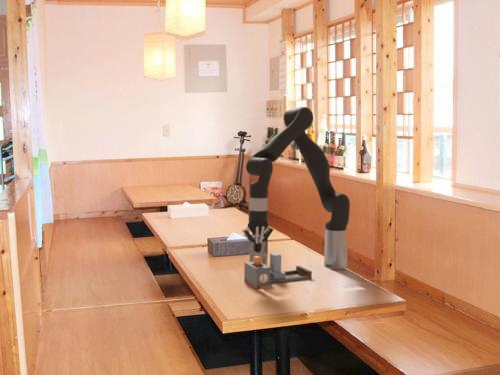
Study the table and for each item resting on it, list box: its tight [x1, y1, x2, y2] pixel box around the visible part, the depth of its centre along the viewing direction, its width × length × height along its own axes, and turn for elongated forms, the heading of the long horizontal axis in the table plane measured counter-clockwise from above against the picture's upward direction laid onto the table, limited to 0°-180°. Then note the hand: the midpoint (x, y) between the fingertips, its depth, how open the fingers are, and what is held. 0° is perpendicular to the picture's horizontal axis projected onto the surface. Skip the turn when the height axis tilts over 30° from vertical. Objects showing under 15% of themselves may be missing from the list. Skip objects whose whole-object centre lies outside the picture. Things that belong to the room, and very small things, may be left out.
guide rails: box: [269, 269, 310, 285], centre depth 261 cm, size 18×11×1 cm, turn 116°
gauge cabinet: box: [243, 261, 271, 286], centre depth 255 cm, size 6×11×6 cm, turn 26°
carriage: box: [269, 252, 286, 280], centre depth 259 cm, size 5×8×10 cm, turn 25°
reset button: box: [253, 256, 262, 265], centre depth 255 cm, size 3×3×3 cm
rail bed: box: [243, 265, 313, 290], centre depth 260 cm, size 25×11×4 cm, turn 116°
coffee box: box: [249, 234, 269, 266], centre depth 276 cm, size 9×6×16 cm
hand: (257, 252), depth 254 cm, fingers closed
